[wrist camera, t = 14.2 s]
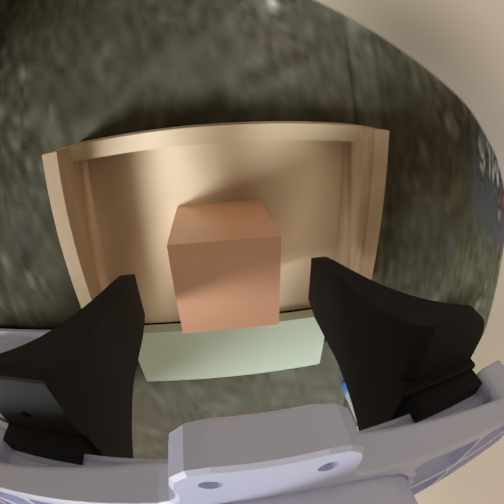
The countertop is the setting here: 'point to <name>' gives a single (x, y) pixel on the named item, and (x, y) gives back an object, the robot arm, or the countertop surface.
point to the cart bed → (217, 199)
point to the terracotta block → (225, 266)
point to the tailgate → (230, 349)
